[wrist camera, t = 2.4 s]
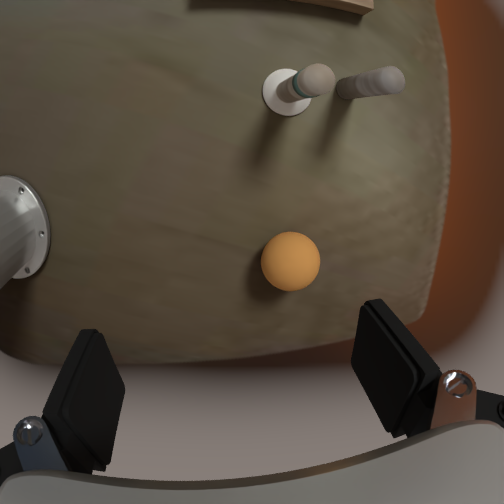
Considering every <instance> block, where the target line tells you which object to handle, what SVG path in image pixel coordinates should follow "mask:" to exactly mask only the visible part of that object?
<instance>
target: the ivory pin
mask: <svg viewBox="0 0 504 504" xmlns="http://www.w3.org/2000/svg"><path fill="white" fill-rule="evenodd" d="M334 85H335V76H334V73H333V72H332V70H331V69H330V68H329V67H327V66H326V65H323V64H313V65H310V66H309V67H307V68H304V69H302V70H300V71H298V72H297V73H296V74H294V75H293V76H291V77H289V78H288V79H286V80H284V81H282V82H281V83H280V84H279V85H278V86H277V88H276V94H277V97H278V98H279V99H280V100H281V101H282V102H284V103H293V102H296V101H300V100H303V99H307V98H313V97H317V96H319V95H322V94H326V93H328V92H330V91H331V90H332V89H333V88H334Z"/></svg>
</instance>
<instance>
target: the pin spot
mask: <svg viewBox="0 0 504 504" xmlns="http://www.w3.org/2000/svg"><path fill="white" fill-rule="evenodd" d="M296 73H297V71H295V70H292V69H280V70H277V71H275V72H273V73H271V74H270V75H269V76H268V77H267V79H266V80H265V82H264V85H263V97H264V100H265V102H266V104H267V105H268V106H269V108H271V109H272V110H273V111H274V112H276V113H278V114H281V115H285V116H292V115H296V114H299V113H301V112H302V111H304V110H305V109H306V108H307V107H308V105H309V103H310V101H311V98H307V99H303V100H300V101H296V102H293V103H284V102H282V101H281V100H280V99H279V98H278V97H277V94H276V88H277V86H278V85H279V84H280V83H281V82H282V81H284V80H286V79H288V78H289V77H291V76H293V75H294V74H296Z"/></svg>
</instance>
